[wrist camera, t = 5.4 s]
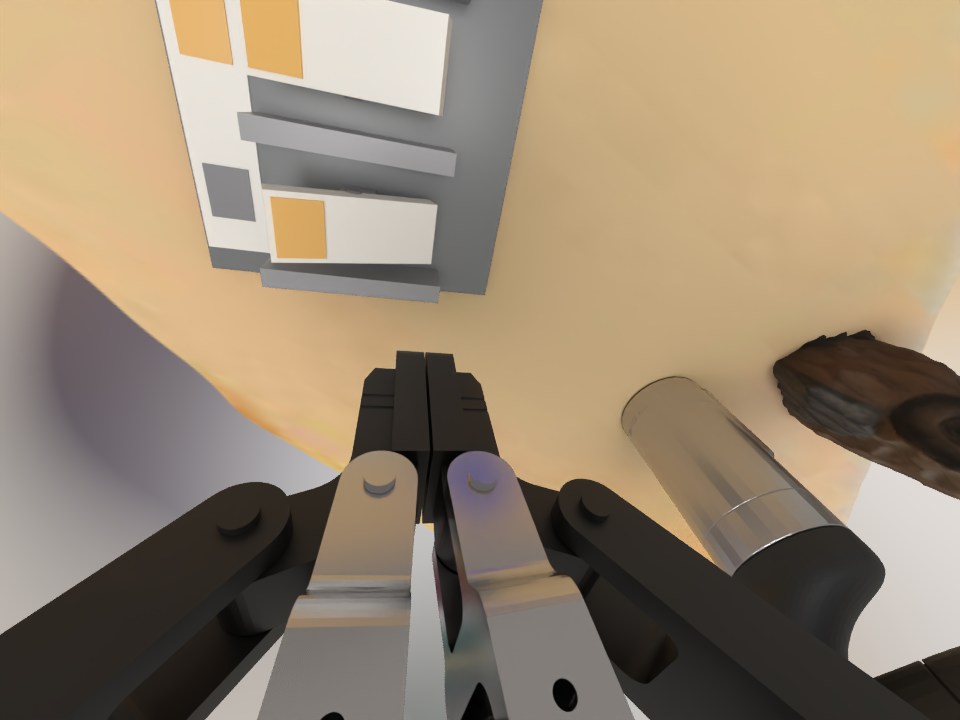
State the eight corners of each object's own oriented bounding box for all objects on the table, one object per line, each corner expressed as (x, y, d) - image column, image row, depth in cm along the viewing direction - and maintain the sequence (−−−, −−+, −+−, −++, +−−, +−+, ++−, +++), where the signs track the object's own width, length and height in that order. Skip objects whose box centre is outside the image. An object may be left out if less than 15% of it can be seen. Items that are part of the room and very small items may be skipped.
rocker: (426, 196, 23) (438, 203, 22) (421, 255, 25) (431, 266, 24) (260, 179, 19) (261, 187, 17) (270, 252, 21) (271, 265, 19)
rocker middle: (453, 22, 17) (448, 10, 15) (443, 118, 19) (438, 117, 17) (255, -23, 16) (227, -41, 15) (266, 81, 18) (242, 76, 17)
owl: (763, 361, 40) (1005, 532, 24) (882, 286, 37) (1257, 424, 21) (786, 418, 47) (990, 583, 31) (890, 358, 44) (1179, 507, 27)
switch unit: (587, -254, 16) (635, -351, 13) (482, 290, 30) (492, 313, 27) (58, -515, 12) (-82, -767, 9) (219, 262, 26) (189, 286, 22)
